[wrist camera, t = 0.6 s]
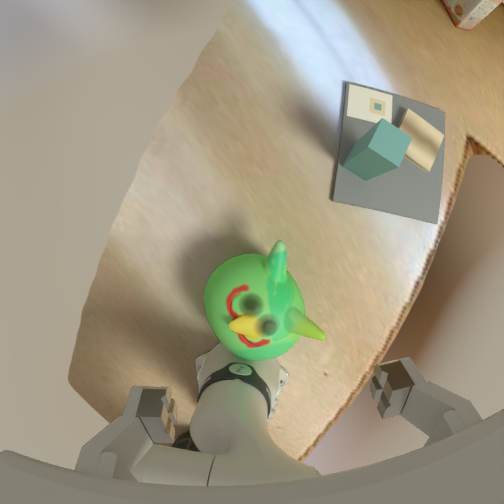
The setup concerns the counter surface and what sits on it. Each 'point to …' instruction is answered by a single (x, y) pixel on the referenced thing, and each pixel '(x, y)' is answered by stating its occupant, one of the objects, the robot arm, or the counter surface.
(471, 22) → the cracker box
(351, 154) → the column
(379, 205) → the base plate
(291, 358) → the counter surface
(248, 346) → the toy bird
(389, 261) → the counter surface
